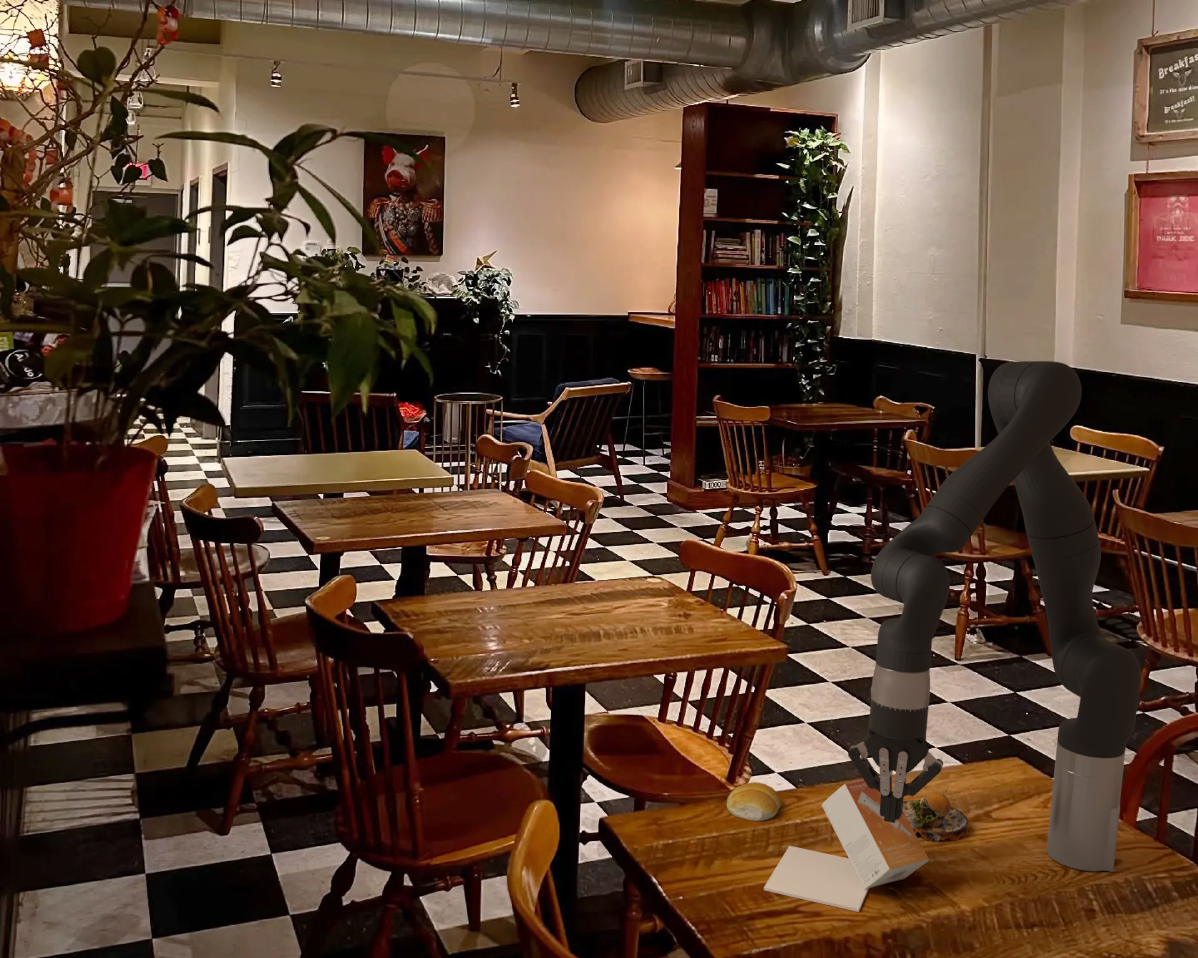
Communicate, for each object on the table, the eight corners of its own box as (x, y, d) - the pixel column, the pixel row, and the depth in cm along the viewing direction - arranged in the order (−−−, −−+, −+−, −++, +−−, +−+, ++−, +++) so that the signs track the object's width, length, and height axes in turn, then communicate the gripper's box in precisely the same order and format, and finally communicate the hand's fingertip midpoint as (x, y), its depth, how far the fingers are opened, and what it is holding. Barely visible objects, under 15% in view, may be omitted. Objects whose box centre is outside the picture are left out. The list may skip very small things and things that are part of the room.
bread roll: (783, 803, 192) (785, 779, 192) (773, 825, 184) (774, 801, 183) (733, 794, 195) (734, 771, 194) (720, 816, 187) (722, 792, 186)
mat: (877, 867, 171) (878, 864, 171) (858, 911, 158) (858, 909, 158) (789, 848, 176) (789, 845, 176) (763, 889, 163) (763, 887, 163)
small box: (890, 869, 159) (844, 782, 166) (863, 890, 163) (819, 804, 170) (931, 858, 164) (884, 774, 171) (904, 879, 168) (859, 796, 175)
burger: (927, 804, 194) (931, 760, 193) (984, 833, 184) (988, 787, 183) (872, 819, 188) (876, 774, 187) (928, 850, 178) (932, 802, 177)
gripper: (954, 697, 160) (943, 819, 163) (855, 681, 165) (847, 800, 168) (947, 714, 153) (936, 841, 156) (845, 697, 158) (835, 820, 161)
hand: (890, 819), depth 162 cm, fingers closed
